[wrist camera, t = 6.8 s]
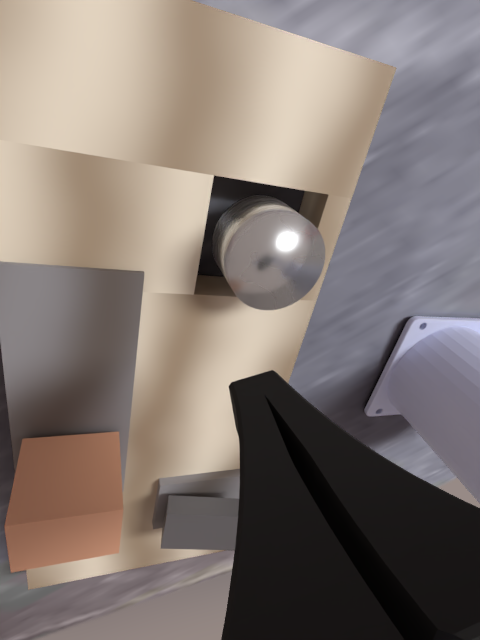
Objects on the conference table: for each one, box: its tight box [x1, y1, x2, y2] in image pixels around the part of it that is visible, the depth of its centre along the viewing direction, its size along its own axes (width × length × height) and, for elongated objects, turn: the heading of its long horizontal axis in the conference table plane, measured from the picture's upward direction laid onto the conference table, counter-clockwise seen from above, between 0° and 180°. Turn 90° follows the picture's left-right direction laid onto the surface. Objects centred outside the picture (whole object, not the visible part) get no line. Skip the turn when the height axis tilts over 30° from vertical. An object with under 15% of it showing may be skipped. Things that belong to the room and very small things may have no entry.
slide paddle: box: [4, 432, 123, 573], centre depth 17 cm, size 4×3×4 cm
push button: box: [212, 195, 325, 310], centre depth 15 cm, size 4×4×2 cm
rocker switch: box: [161, 495, 239, 550], centre depth 22 cm, size 4×3×1 cm
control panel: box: [0, 0, 396, 590], centre depth 19 cm, size 13×30×2 cm, turn 168°
